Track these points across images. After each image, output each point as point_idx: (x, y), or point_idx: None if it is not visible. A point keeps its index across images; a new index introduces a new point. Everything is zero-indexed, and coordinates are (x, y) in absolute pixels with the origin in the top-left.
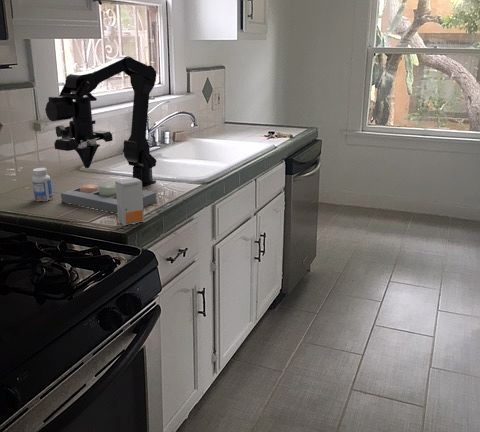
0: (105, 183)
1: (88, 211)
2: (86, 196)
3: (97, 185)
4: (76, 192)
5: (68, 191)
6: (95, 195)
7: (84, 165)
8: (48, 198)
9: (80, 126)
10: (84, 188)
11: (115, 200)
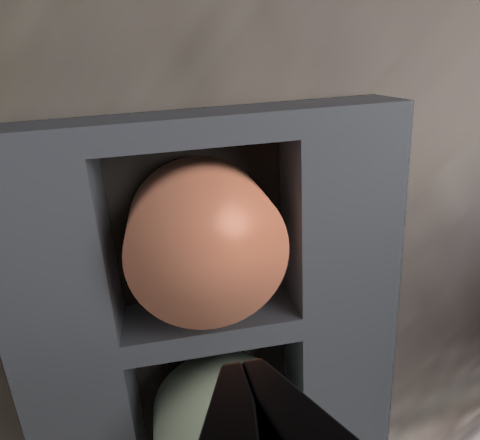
0: (403, 215)
1: (5, 429)
2: (53, 391)
3: (280, 278)
4: (65, 242)
5: (31, 153)
6: (118, 416)
7: (215, 395)
8: None
9: None
10: (147, 266)
11: None
